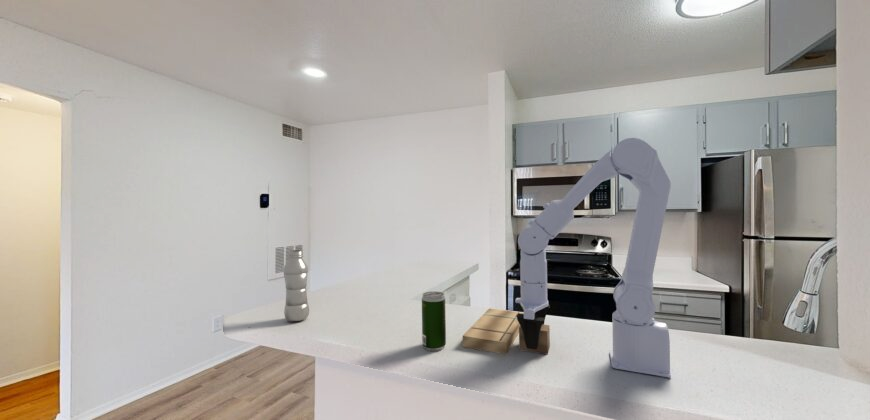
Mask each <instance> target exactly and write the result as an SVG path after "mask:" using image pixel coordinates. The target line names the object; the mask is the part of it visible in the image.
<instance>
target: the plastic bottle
mask: <svg viewBox="0 0 870 420" xmlns="http://www.w3.org/2000/svg"><path fill="white" fill-rule="evenodd" d="M303 252H304V251H303V250H302V249H293V250H288V256H287V258H288V261H286V263H285V265H284V266H283V269H282V271H283V277H284V283H285V306H284V310H283V313H284V314H283V315H284V318H285V320H286V321H288V322H299V321H304V320H306V319H307V318H308V317H309V316H310V315H309V314H310V306H309V301H308V295H307V280H308V271H309V267H308V265H307V263H306V262H305V260H304V259H303V257H304V253H303Z"/></svg>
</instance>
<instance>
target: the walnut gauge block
mask: <svg viewBox="0 0 870 420" xmlns="http://www.w3.org/2000/svg"><path fill="white" fill-rule="evenodd" d="M550 331H551V329H550V324H545V323H544V324H542V326H541V330H540V335H539V343H538V347H537V350H535V349H529V348H527V347H526V343H525V339H524V335H523V331H522V328H521V326H520V327H519V333H518V345H519V346H518V349H519V350H520V351H527V352H531V353H538V354H544V355H549V351H550V347H551V343H550V341H551V340H550V335H551V334H550Z"/></svg>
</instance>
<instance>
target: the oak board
mask: <svg viewBox="0 0 870 420" xmlns="http://www.w3.org/2000/svg"><path fill="white" fill-rule="evenodd" d="M518 313H521V314H524V311H514V310H513V311H512V310H505V309H497V308H487V310H486V311H485V312H484V314H482V315H481V316H480V317H479V318H478V319H477V320H476V321H475V322H474V324H472V325H471V326H470V328H469V329H468V330H466V332H465V333H464V334H462V348H467V349H468V348H469V349H474V350H479V351H486V352H492V353H498V354H502V355H508V353H509V351H510V349H511V347H512V346H513V344H514V342H515V340H516V338H517V337H518V336H519V327H520V324H519V322H518V320H517V315H518Z"/></svg>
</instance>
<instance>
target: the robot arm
mask: <svg viewBox="0 0 870 420" xmlns="http://www.w3.org/2000/svg"><path fill="white" fill-rule="evenodd" d="M618 175H619V176H620V177H623V178H625V179H627V180H629V182H630V183H631V184H632V185H633V187H635V189H637V190H638V191H639V193H638V197H637V198H638V199H637V203H636V208H635V214H634V220H633V225H632V230H631V235H630V239H629V245H628V250H627V257H626V260H625V266H624V269H623V272H622V274H621V279H620V281H619V282H618V283H617V285H616V286H615V287H614V289H613V292H612V293H613V295H612V296H613V300H614V302H615V307H616V310H615V311H613V312H612V317H611V318H612V349H610V350H609V358H610V363H611V367H612V368H613V369H617V370H620V371H621V370H622V371H629V372H634V373H640V374H647V375H653V376H657V377H663V378H671V377H672V374H671V345H670V344H671V342H670V341H671V340H670V332H669V327H668V324H667V323H665V322H664V321H663V322H661V321H658V320H655V318H654V316H655V313H656V305H655V302H654V300H653V293H654V277H653V276H654V275H653V274H654V270H655V265H656V261H657V256H658V250H659V245H660V241H661V236H662V232H663V231H662V230H663V225H664V221H665V215H666V210H667V206H668V200H669V195H670V191H671V184H672V183H671V180H670V178H669V176H668V174H667V172H666V170H665V169H664V165H663V164H662V163H661V160H660V158H659V155H658V152H657V149H655V148H654V147H653V146H651V145H650V144H649V143H648V142H647V141H645V140H644V139H641V138H638V137H628V138H624V139H622V140H620V141H619V142H618V143H617V144H615V146H614V148H613V150H612V152H611V150H609V151H608V152H606V153H605V154H604V155H603V156H601V158H599V159H598V160H597V161H596V162H595V163H593V165H592V166H591V167H590V168H588V170H587V171H586V172H585V173H584V175H583V176H582V177H581V178H580V179H579V180H578V181H577V182H576V184H574V185H573V187H572V188H571V189H570V190H569V191H568V192H567V193H566V195H565V196H564V197H562V199H553V200H551V201H550V203H549V202H546V203H545V204H543V206H542V208H543V210H542V211H541V212H540V213H539V214H538V215H537V217H536V218H534V220H532V219H531V220H530V221H528V223H527V224H528V225H529V227H525V228H523V229H522V230H521V232H520V233H519V235H518V238H517V244H518V247H519V249H520V254H519V255H520V260H519V269H520V270H519V272H520V274H519V275H520V297H516V298H515V303H516V304H519V305H520V306H521V308H522V310H523V313H524V314H521V313H518V315H517V320H518V322H519V324H520V326H521V328H522V331H523V335H524V339H525V343H526V347H527V348H529V349H535V350H537V347H538V343H539V335H540V330H541V326H542V324H544V325H545V319H546V316H547V314H548V311H549V309H550V308H551V305H550V304H549V300H548V261H547V251H546V248H547V246H548V244H549V241H550V240H553V239H555V238H556V237H557V236H558V234H559V233H561V232H562V231H563V229H565V228H566V227H567V226H568V225H569V224H570V223H571V222H572V221H573V220H574V218H575V214H574V210H575V208H576V207H577V206H578V205H579V204H580V203H581V202H583V200H585V198H586V197H588V195H589V194H591V193H592V192H593V190H595V188H597V187H598V186H599V185H600V184H601V183H602V182H605V181H608V180H611V179H614V178H616V177H617V176H618Z"/></svg>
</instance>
